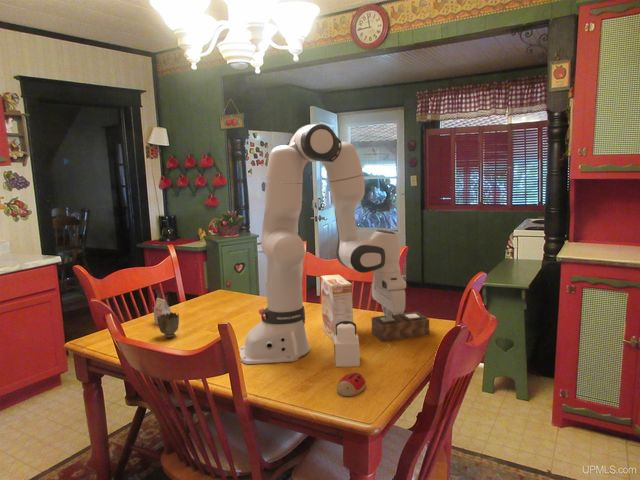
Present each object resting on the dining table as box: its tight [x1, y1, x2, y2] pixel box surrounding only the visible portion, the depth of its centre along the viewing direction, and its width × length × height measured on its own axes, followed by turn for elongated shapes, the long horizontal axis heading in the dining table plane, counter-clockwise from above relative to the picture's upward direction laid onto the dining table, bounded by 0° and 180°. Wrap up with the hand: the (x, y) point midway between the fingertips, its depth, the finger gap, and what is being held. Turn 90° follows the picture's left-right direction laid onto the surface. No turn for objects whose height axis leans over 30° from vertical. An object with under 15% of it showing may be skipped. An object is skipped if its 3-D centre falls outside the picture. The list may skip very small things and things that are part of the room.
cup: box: [157, 311, 180, 339], centre depth 169 cm, size 8×7×8 cm
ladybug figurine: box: [336, 372, 367, 397], centre depth 124 cm, size 7×10×4 cm
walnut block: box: [371, 311, 430, 343], centre depth 162 cm, size 17×9×6 cm, turn 105°
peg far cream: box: [405, 314, 420, 318], centre depth 163 cm, size 4×4×6 cm
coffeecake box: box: [320, 274, 354, 343], centre depth 163 cm, size 15×7×20 cm, turn 14°
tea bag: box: [153, 297, 172, 325], centre depth 183 cm, size 4×7×10 cm, turn 45°
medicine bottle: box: [333, 321, 361, 368], centre depth 141 cm, size 7×7×12 cm
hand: (387, 318), depth 161 cm, fingers closed, pressing on peg near sage
